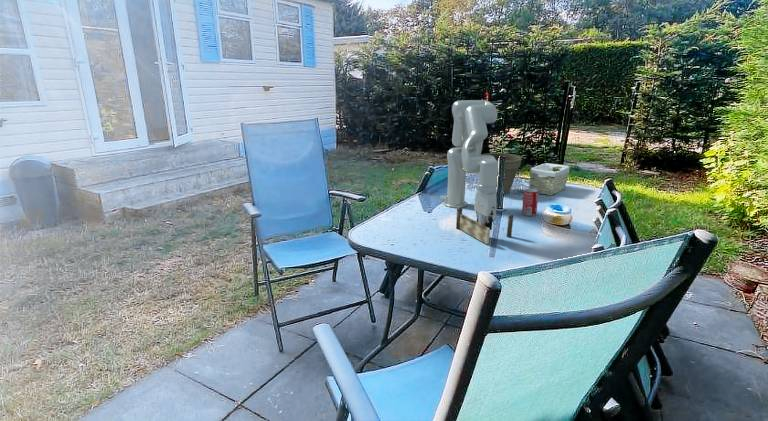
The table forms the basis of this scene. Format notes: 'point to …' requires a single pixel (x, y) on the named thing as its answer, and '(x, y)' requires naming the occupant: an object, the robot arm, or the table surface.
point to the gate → (474, 228)
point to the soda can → (530, 202)
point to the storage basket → (548, 178)
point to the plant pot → (508, 168)
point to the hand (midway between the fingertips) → (484, 227)
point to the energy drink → (482, 219)
